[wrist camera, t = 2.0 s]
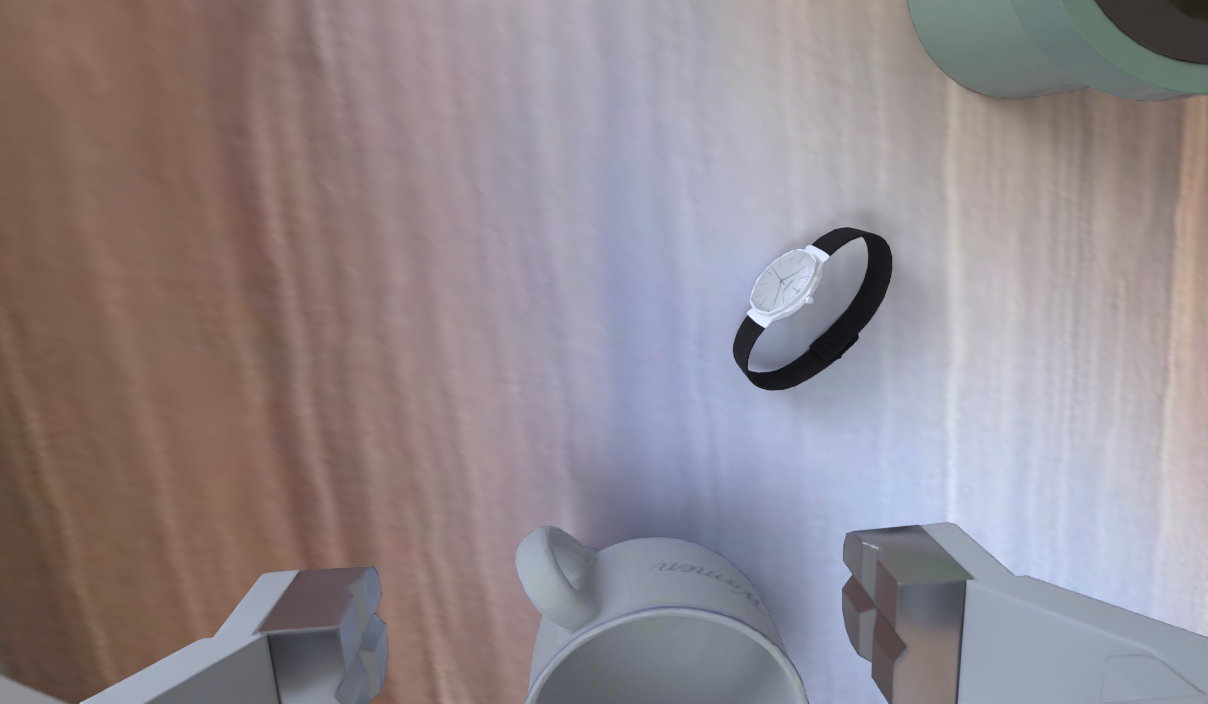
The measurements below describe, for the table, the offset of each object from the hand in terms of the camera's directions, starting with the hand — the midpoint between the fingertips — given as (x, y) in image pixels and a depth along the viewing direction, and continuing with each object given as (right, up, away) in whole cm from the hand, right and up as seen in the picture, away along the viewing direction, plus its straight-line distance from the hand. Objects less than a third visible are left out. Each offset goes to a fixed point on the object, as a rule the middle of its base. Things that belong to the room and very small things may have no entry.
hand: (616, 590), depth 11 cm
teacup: (+1, -8, +24) cm, 25 cm away
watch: (+8, +6, +21) cm, 24 cm away
